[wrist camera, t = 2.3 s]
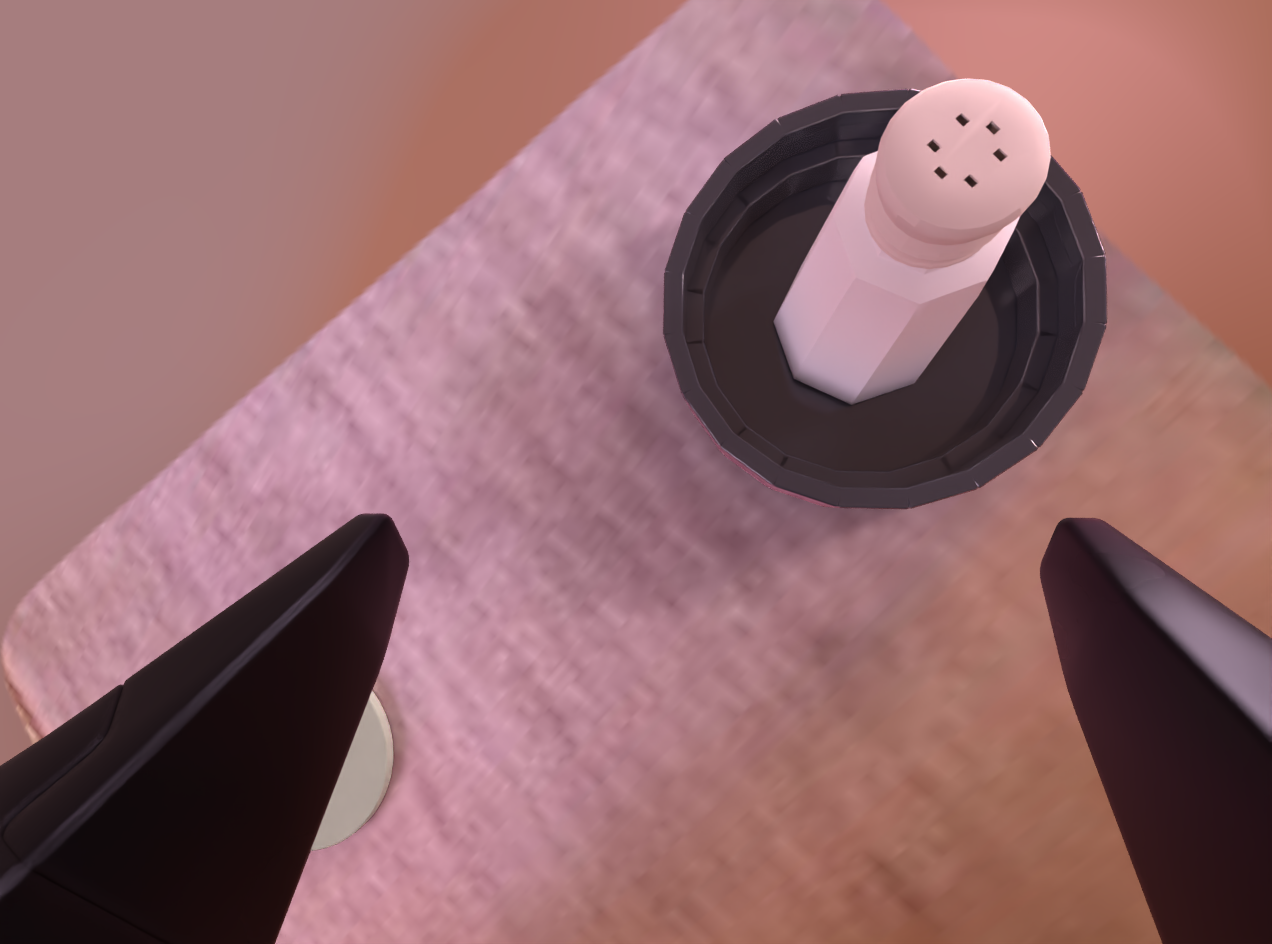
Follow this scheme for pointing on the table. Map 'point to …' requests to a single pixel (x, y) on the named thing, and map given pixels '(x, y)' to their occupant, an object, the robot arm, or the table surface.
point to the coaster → (359, 778)
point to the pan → (904, 418)
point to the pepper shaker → (913, 239)
